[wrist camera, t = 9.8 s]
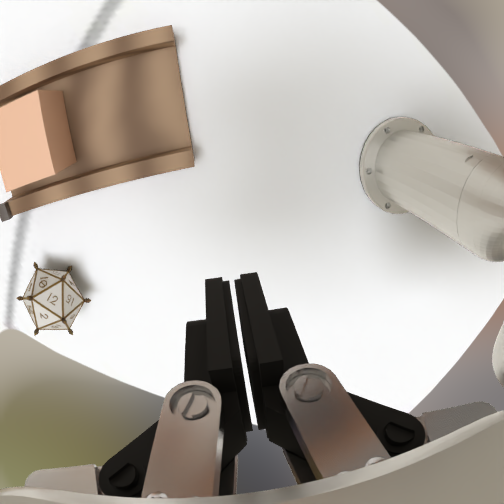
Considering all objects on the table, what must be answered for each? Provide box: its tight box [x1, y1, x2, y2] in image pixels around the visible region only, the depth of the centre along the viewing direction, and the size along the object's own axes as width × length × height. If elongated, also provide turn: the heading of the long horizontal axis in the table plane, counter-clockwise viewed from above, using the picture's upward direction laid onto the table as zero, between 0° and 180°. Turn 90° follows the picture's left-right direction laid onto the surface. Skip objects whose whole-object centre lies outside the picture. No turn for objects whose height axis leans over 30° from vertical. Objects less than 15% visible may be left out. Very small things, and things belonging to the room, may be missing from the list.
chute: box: [0, 25, 195, 222], centre depth 26 cm, size 22×14×5 cm, turn 98°
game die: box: [17, 262, 91, 335], centre depth 32 cm, size 9×8×10 cm
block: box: [0, 90, 77, 192], centre depth 24 cm, size 6×8×6 cm
